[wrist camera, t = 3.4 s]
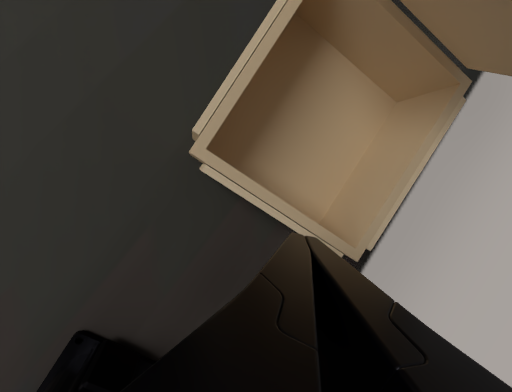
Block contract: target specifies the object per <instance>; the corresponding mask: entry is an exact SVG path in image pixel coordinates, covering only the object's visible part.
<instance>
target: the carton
mask: <svg viewBox="0 0 512 392" xmlns="http://www.w3.org/2000/svg"><path fill="white" fill-rule="evenodd" d="M471 82H472V81H471V80H470V79H469V78H468V77H467V76H466V75H465V74H464V73H463V72H462V71H461V70H460V69H459V68H458V67H457V66H456V65H455V64H454V63H453V62H452V61H451V60H450V59H449V58H448V57H447V56H446V55H445V54H444V53H443V52H442V51H441V50H440V49H439V48H438V47H437V46H436V45H435V44H434V43H433V42H432V41H431V40H430V39H429V38H428V37H427V36H426V35H425V34H424V33H423V32H422V31H421V30H420V29H419V28H418V27H417V26H416V25H415V24H414V23H413V22H412V21H411V20H410V19H409V18H408V17H407V16H406V15H405V14H404V13H403V12H402V11H401V10H400V9H399V8H398V7H397V6H396V5H395V4H394V3H393V2H392V1H391V0H277V1H276V3H275V4H274V6H273V7H272V9H271V10H270V12H269V13H268V15H267V16H266V18H265V20H264V21H263V23H262V24H261V26H260V27H259V29H258V30H257V32H256V33H255V35H254V36H253V38H252V39H251V41H250V42H249V44H248V45H247V47H246V49H245V50H244V52H243V53H242V55H241V56H240V58H239V59H238V61H237V62H236V64H235V65H234V67H233V68H232V70H231V71H230V73H229V74H228V76H227V78H226V79H225V81H224V82H223V84H222V85H221V87H220V88H219V90H218V91H217V93H216V94H215V96H214V97H213V99H212V100H211V102H210V104H209V105H208V107H207V108H206V110H205V111H204V113H203V114H202V116H201V117H200V119H199V120H198V122H197V123H196V125H195V126H194V128H193V129H192V137H193V139H194V140H195V141H196V142H195V143H194V145H193V146H192V148H191V150H190V151H189V153H190V155H191V156H193V157H194V158H196V159H197V160H199V161H200V162H202V163H203V164H202V165H201V167H200V168H199V169H200V170H201V171H202V172H204V173H206V174H207V175H209V176H210V177H212V178H213V179H215V180H216V181H218V182H220V183H221V184H223V185H224V186H226V187H227V188H229V189H230V190H232V191H234V192H235V193H237V194H238V195H240V196H241V197H243V198H244V199H246V200H248V201H249V202H251V203H252V204H254V205H255V206H257V207H259V208H260V209H262V210H263V211H265V212H266V213H268V214H269V215H271V216H273V217H274V218H276V219H277V220H279V221H280V222H282V223H283V224H285V225H287V226H288V227H290V228H291V229H293V230H294V231H296V232H297V233H299V234H302V235H304V236H312V237H316V238H318V239H319V240H320V241H322V242H323V243H324V244H325V245H327V246H328V247H329V248H330V249H331V250H333V251H334V252H335V253H336V254H338V255H339V256H340V257H341V258H342V256H343V255H344V254H345V255H347V256H348V257H350V258H351V259H353V260H355V261H356V262H358V260H359V259H360V257H361V256H362V254H363V253H364V251H365V249H367V250H369V251H371V250H372V248H373V247H374V245H375V244H376V242H377V240H378V239H379V237H380V236H381V234H382V233H383V231H384V229H385V228H386V226H387V225H388V223H389V222H390V220H391V218H392V217H393V215H394V214H395V212H396V210H397V209H398V207H399V206H400V204H401V203H402V201H403V199H404V198H405V196H406V195H407V193H408V192H409V190H410V188H411V187H412V185H413V184H414V182H415V181H416V179H417V177H418V176H419V174H420V173H421V171H422V170H423V168H424V166H425V165H426V163H427V162H428V160H429V158H430V157H431V155H432V154H433V152H434V151H435V149H436V147H437V146H438V144H439V143H440V141H441V140H442V138H443V136H444V135H445V133H446V132H447V130H448V129H449V127H450V125H451V124H452V122H453V121H454V119H455V117H456V116H457V114H458V113H459V111H460V110H461V108H462V106H463V105H464V103H465V102H466V99H465V98H464V97H463V95H464V93H465V92H466V90H467V89H468V87H469V86H470V84H471ZM336 249H337V250H336ZM341 252H342V253H341Z"/></svg>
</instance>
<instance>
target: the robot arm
mask: <svg viewBox="0 0 512 392" xmlns="http://www.w3.org/2000/svg"><path fill="white" fill-rule="evenodd" d="M78 337H80V338H82V339H83V340H82V341H79V340H78V339H77V338H78ZM37 392H512V388H511V387H510V386H508V385H507V384H506V383H504V382H503V381H501V380H500V379H499V378H497V377H496V376H495V375H493V374H492V373H491V372H489V371H488V370H487V369H485V368H484V367H482V366H481V365H479V364H478V363H477V362H475V361H474V360H473V359H471V358H470V357H469V356H467V355H466V354H464V353H463V352H462V351H460V350H459V349H457V348H456V347H455V346H453V345H452V344H451V343H449V342H448V341H446V340H445V339H444V338H442V337H441V336H440V335H438V334H437V333H436V332H434V331H433V330H432V329H430V328H429V327H428V326H426V325H425V324H424V323H423V322H421V321H420V320H418V319H417V318H416V317H415V316H414V315H412V314H411V313H410V312H409V311H407V310H406V309H405V308H403V307H402V306H401V305H400V304H399V303H397V302H395V303H394V300H393V299H392V298H391V297H389V296H388V295H387V294H385V293H384V292H383V291H382V290H381V289H379V288H378V287H377V286H376V285H374V284H373V283H372V282H371V281H370V280H368V279H367V278H366V277H365V276H363V275H362V274H361V273H360V272H358V271H357V270H356V269H355V268H354V267H352V266H351V265H350V264H349V263H347V262H346V261H345V260H344V259H342V258H341V257H340V256H339V255H338V254H336V253H335V252H334V251H333V250H331V249H330V248H329V247H328V246H327V245H325V244H324V243H323V242H322V241H320V240H319V239H318V238H316V237H312V236H304V235H302V234H297V233H291V234H290V235H289V236H288V238H287V239H286V240H285V241H284V242H283V244H282V245H281V246H280V247H279V249H278V250H277V251H276V252H275V253H274V255H273V256H272V257H271V258H270V260H269V261H268V262H267V263H266V264H265V266H264V267H263V268H262V269H261V271H260V272H259V273H258V274H257V275H256V276H255V277H254V279H253V280H252V281H251V282H250V283H249V284H248V285H247V286H246V287H245V289H244V290H242V291H241V292H240V293H239V294H238V295H237V296H236V297H235V298H234V299H232V300H231V301H230V302H229V303H228V304H226V305H225V306H224V307H223V308H221V309H220V310H219V311H218V312H217V313H215V314H214V315H213V316H212V317H210V318H209V319H208V320H207V321H206V322H204V323H203V324H202V325H201V326H199V327H198V328H197V329H196V330H195V331H193V332H192V333H191V334H190V335H188V336H187V337H186V338H185V339H184V340H182V341H181V342H180V343H179V344H178V345H176V346H175V347H174V348H173V349H171V350H170V351H169V352H168V353H167V354H165V355H164V356H163V357H162V358H160V359H159V360H158V361H157V362H155V361H153V360H151V359H148V358H146V357H144V356H141V355H139V353H137V352H134V351H132V350H130V349H127V348H125V347H123V346H120V345H118V344H116V343H114V342H111V341H109V340H104V339H102V338H100V337H97V336H95V335H93V334H91V333H88V332H86V331H78V332H76V333H75V334H74V335H73V337H72V338H71V340H70V341H69V343H68V344H67V346H66V347H65V349H64V351H63V352H62V354H61V355H60V357H59V358H58V360H57V361H56V363H55V364H54V366H53V367H52V369H51V370H50V372H49V373H48V375H47V377H46V378H45V380H44V381H43V383H42V384H41V386H40V387H39V389H38V390H37Z"/></svg>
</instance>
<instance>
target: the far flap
mask: <svg viewBox="0 0 512 392" xmlns="http://www.w3.org/2000/svg"><path fill="white" fill-rule="evenodd" d="M400 1H401V2H402V3H403V4H404V5H405V6H406V7H407V8H408V9H409V10H410V11H411V12H412V13H413V14H414V15H415V16H416V17H417V18H418V19H419V20H420V21H421V22H422V23H423V24H424V25H425V26H426V27H427V28H428V29H429V30H430V31H431V32H432V33H433V34H434V35H435V36H436V37H437V38H438V39H439V40H440V41H441V42H442V43H443V44H444V45H445V47H446V48H447V49H448V50H449V51H450V52H451V53H452V54H453V55H454V56H455V57H456V58H457V59H458V60H459V61H460V62H461V63H462V64H463V65H464V66H465V67H466V68H468V69H474V70H479V71H485V72H491V73H497V74H502V75H508V76H512V0H400Z"/></svg>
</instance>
